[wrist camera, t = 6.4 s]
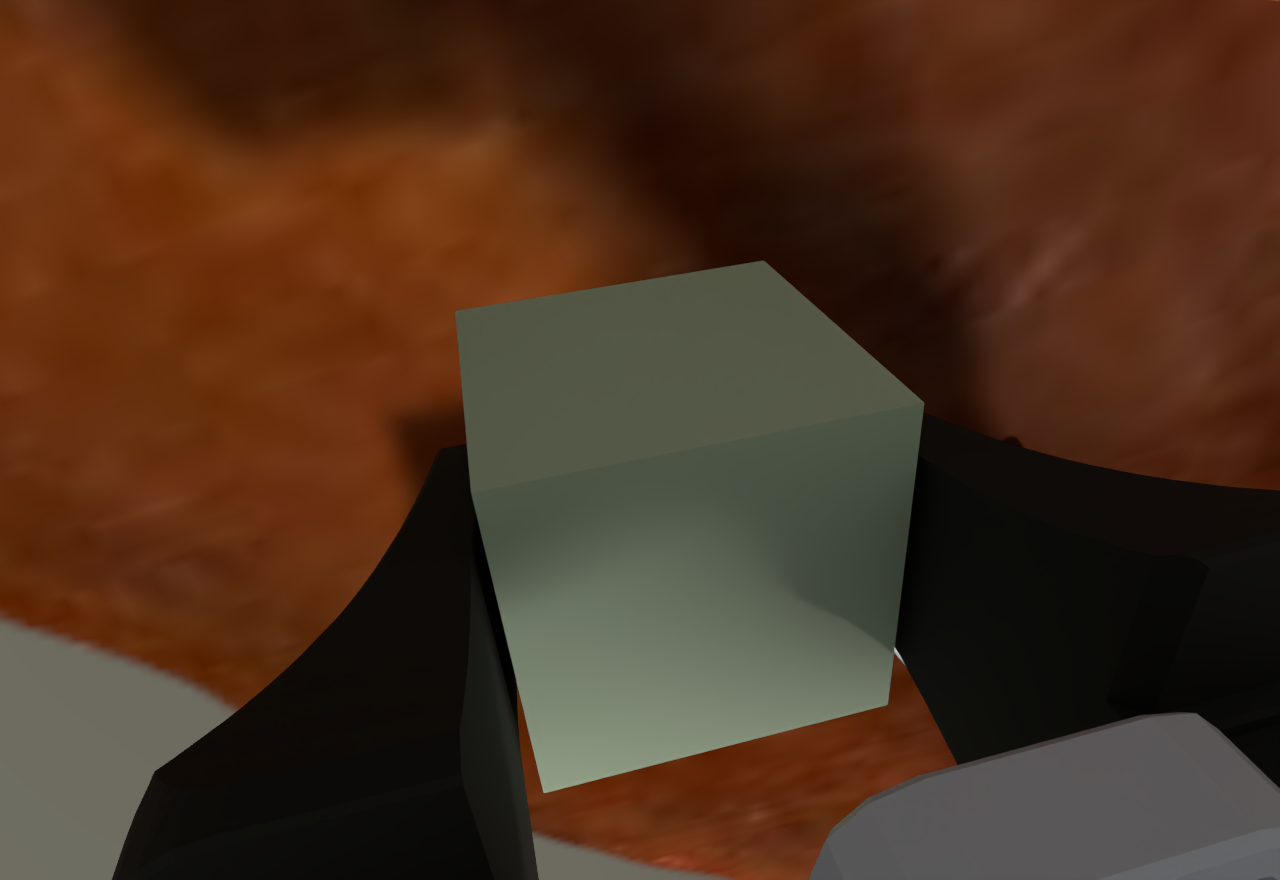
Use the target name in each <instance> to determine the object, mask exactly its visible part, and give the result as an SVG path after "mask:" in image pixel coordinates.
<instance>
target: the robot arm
mask: <svg viewBox="0 0 1280 880" xmlns="http://www.w3.org/2000/svg"><path fill="white" fill-rule="evenodd" d="M894 653H895V654H896V655H897V657H898V658H899V659H900V660H901V661H902V662H903V663H904V665H905V666H906V667H907V669H908V671H909V673H910V675H911V676H912V678H913V680H914V682H915V684H916V686H917V687H918V689H919V691H920V693H921V695H922V697H923V698H924V700H925V702H926V704H927V706H928V708H929V710H930V712H931V714H932V716H933V718H934V719H935V721H936V723H937V725H938V727H939V729H940V731H941V733H942V735H943V737H944V739H945V741H946V743H947V745H948V747H949V749H950V751H951V753H952V755H953V757H954V759H955V761H956V763H957V766H953V767H949V768H946V769H942V770H938V771H935V772H931V773H927V774H924V775H920V776H917V777H914V778H912V779H910V780H908V781H905V782H903V783H901V784H899V785H896V786H894V787H892V788H889V789H887V790H885V791H883V792H880V793H878V794H876V795H874V796H871V797H869V798H867V799H866V800H865V801H864V802H863V803H861V804H860V805H859V806H858V807H857V808H856V809H855V810H853V811H852V812H851V813H850V814H849V815H848V816H846V817H845V818H844V819H843V820H842V821H841V822H839V823H838V824H837V825H836V826H835V827H834V828H833V829H831V830H830V832H829V834H828V837H827V839H826V841H825V843H824V846H823V848H822V850H821V852H820V854H819V857H818V859H817V861H816V863H815V866H814V868H813V870H812V873H811V875H810V880H1280V491H1279V490H1264V489H1250V488H1236V487H1226V486H1218V485H1210V484H1202V483H1194V482H1186V481H1178V480H1170V479H1164V478H1158V477H1151V476H1145V475H1139V474H1133V473H1128V472H1123V471H1118V470H1113V469H1108V468H1103V467H1098V466H1093V465H1088V464H1084V463H1079V462H1075V461H1071V460H1066V459H1062V458H1059V457H1055V456H1051V455H1048V454H1044V453H1040V452H1037V451H1033V450H1029V449H1026V448H1022V447H1019V446H1015V445H1012V444H1009V443H1006V442H1003V441H999V440H996V439H994V438H991V437H988V436H985V435H982V434H979V433H977V432H974V431H971V430H968V429H965V428H962V427H960V426H957V425H954V424H952V423H949V422H947V421H944V420H941V419H939V418H936V417H934V416H931V415H929V414H926V413H924V412H923V418H922V426H921V434H920V443H919V451H918V459H917V467H916V475H915V484H914V492H913V500H912V508H911V517H910V525H909V533H908V541H907V549H906V558H905V566H904V574H903V582H902V591H901V599H900V607H899V615H898V624H897V632H896V640H895V648H894ZM112 880H539V879H538V872H537V865H536V858H535V851H534V844H533V837H532V830H531V823H530V816H529V809H528V802H527V795H526V788H525V781H524V773H523V766H522V759H521V752H520V742H519V729H518V711H517V683H516V676H515V672H514V668H513V664H512V660H511V656H510V652H509V648H508V643H507V639H506V635H505V631H504V627H503V623H502V619H501V614H500V610H499V606H498V602H497V598H496V594H495V590H494V586H493V581H492V577H491V573H490V569H489V565H488V561H487V557H486V552H485V548H484V544H483V540H482V536H481V532H480V528H479V524H478V519H477V515H476V511H475V507H474V503H473V499H472V495H471V487H470V475H469V464H468V452H467V444H464V445H459V446H453V447H448V448H443V449H441V450H440V451H439V453H438V454H437V455H436V457H435V459H434V462H433V465H432V467H431V469H430V472H429V474H428V476H427V479H426V481H425V483H424V485H423V487H422V489H421V491H420V493H419V495H418V497H417V499H416V501H415V503H414V505H413V507H412V509H411V511H410V512H409V514H408V516H407V518H406V520H405V522H404V523H403V525H402V527H401V529H400V531H399V532H398V534H397V536H396V537H395V539H394V540H393V542H392V543H391V545H390V547H389V548H388V550H387V551H386V553H385V554H384V556H383V558H382V559H381V561H380V562H379V564H378V565H377V567H376V568H375V570H374V571H373V573H372V574H371V575H370V577H369V578H368V580H367V581H366V582H365V584H364V585H363V586H362V588H361V589H360V590H359V592H358V593H357V594H356V596H355V597H354V598H353V599H352V601H351V602H350V603H349V604H348V605H347V607H346V608H345V609H344V610H343V612H342V613H341V614H340V615H339V616H338V617H337V619H336V620H335V621H334V622H333V623H332V624H331V625H330V626H329V627H328V628H327V629H326V630H325V631H324V632H323V633H322V634H321V635H320V636H319V637H318V638H317V639H316V640H315V641H314V642H313V643H312V644H311V645H310V646H309V647H308V649H307V650H306V651H305V652H304V653H303V654H302V655H301V656H300V657H299V658H298V659H297V660H296V661H295V662H294V663H292V664H291V665H290V666H289V667H288V668H287V669H286V670H285V671H284V672H283V673H281V674H280V675H279V676H278V677H277V678H276V679H275V680H274V681H273V682H271V683H270V684H269V685H268V686H267V687H266V688H264V689H263V690H262V691H261V692H260V693H259V694H257V695H256V696H255V697H254V698H253V699H251V700H250V701H249V702H248V703H247V704H245V705H244V706H243V707H242V708H241V709H239V710H238V711H237V712H236V713H234V714H233V715H232V716H230V717H229V718H228V719H227V720H225V721H224V722H223V723H221V724H220V725H219V726H217V727H216V728H214V729H213V730H212V731H210V732H209V733H208V734H206V735H205V736H204V737H202V738H201V739H200V740H198V741H197V742H195V743H194V744H193V745H191V746H190V747H189V748H187V749H186V750H184V751H183V752H182V753H181V754H179V755H178V756H176V757H175V758H174V759H172V760H171V761H169V762H168V763H166V764H165V765H164V766H162V767H160V768H159V769H158V770H156V771H155V772H154V774H153V776H152V779H151V781H150V784H149V786H148V788H147V790H146V792H145V794H144V797H143V799H142V801H141V803H140V805H139V807H138V809H137V811H136V814H135V816H134V819H133V821H132V824H131V826H130V829H129V832H128V835H127V837H126V840H125V842H124V845H123V849H122V851H121V854H120V857H119V860H118V863H117V866H116V870H115V872H114V875H113V878H112Z"/></svg>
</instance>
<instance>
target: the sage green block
mask: <svg viewBox="0 0 1280 880" xmlns="http://www.w3.org/2000/svg"><path fill="white" fill-rule="evenodd" d="M455 313H456V324H457V336H458V347H459V359H460V371H461V382H462V394H463V406H464V417H465V429H466V440H467V452H468V464H469V475H470V487H471V495H472V499H473V503H474V507H475V511H476V515H477V519H478V524H479V528H480V532H481V536H482V540H483V544H484V548H485V552H486V557H487V561H488V565H489V569H490V573H491V577H492V581H493V586H494V590H495V594H496V598H497V602H498V606H499V610H500V614H501V619H502V623H503V627H504V631H505V635H506V639H507V643H508V648H509V652H510V656H511V660H512V664H513V668H514V672H515V676H516V681H517V685H518V689H519V693H520V697H521V701H522V705H523V709H524V714H525V718H526V722H527V726H528V730H529V734H530V738H531V743H532V747H533V751H534V755H535V759H536V763H537V767H538V771H539V776H540V780H541V784H542V788H543V792H544V793H547V792H551V791H555V790H558V789H562V788H566V787H570V786H574V785H578V784H582V783H586V782H589V781H593V780H597V779H601V778H605V777H609V776H613V775H617V774H621V773H624V772H628V771H632V770H636V769H640V768H644V767H648V766H652V765H656V764H659V763H663V762H667V761H671V760H675V759H679V758H683V757H687V756H691V755H694V754H698V753H702V752H706V751H710V750H714V749H718V748H722V747H725V746H729V745H733V744H737V743H741V742H745V741H749V740H753V739H757V738H760V737H764V736H768V735H772V734H776V733H780V732H784V731H788V730H792V729H795V728H799V727H803V726H807V725H811V724H815V723H819V722H823V721H826V720H830V719H834V718H838V717H842V716H846V715H850V714H854V713H858V712H861V711H865V710H869V709H873V708H877V707H881V706H885V705H888V698H889V689H890V681H891V673H892V665H893V656H894V648H895V640H896V632H897V624H898V615H899V607H900V599H901V591H902V582H903V574H904V566H905V558H906V549H907V541H908V533H909V525H910V517H911V508H912V500H913V492H914V484H915V475H916V467H917V459H918V451H919V443H920V434H921V426H922V418H923V410H924V402H923V401H922V400H921V399H920V398H919V397H917V396H916V395H915V394H914V393H913V392H912V391H911V390H910V389H908V388H907V387H906V386H905V385H904V384H903V383H902V382H901V381H899V380H898V379H897V378H896V377H895V376H894V375H893V374H891V373H890V372H889V371H888V370H887V369H886V368H885V367H884V366H882V365H881V364H880V363H879V362H878V361H877V360H876V359H875V358H873V357H872V356H871V355H870V354H869V353H868V352H867V351H866V350H864V349H863V348H862V347H861V346H860V345H859V344H858V343H856V342H855V341H854V340H853V339H852V338H851V337H850V336H849V335H847V334H846V333H845V332H844V331H843V330H842V329H841V328H840V327H838V326H837V325H836V324H835V323H834V322H833V321H832V320H831V319H829V318H828V317H827V316H826V315H825V314H824V313H823V312H821V311H820V310H819V309H818V308H817V307H816V306H815V305H814V304H812V303H811V302H810V301H809V300H808V299H807V298H806V297H805V296H803V295H802V294H801V293H800V292H799V291H798V290H797V289H795V288H794V287H793V286H792V285H791V284H790V283H789V282H788V281H786V280H785V279H784V278H783V277H782V276H781V275H780V274H779V273H777V272H776V271H775V270H774V269H773V268H772V267H771V266H770V265H768V264H767V263H766V262H765V261H758V262H752V263H746V264H740V265H733V266H727V267H721V268H715V269H709V270H703V271H697V272H691V273H685V274H679V275H672V276H666V277H660V278H654V279H648V280H642V281H636V282H630V283H624V284H618V285H612V286H605V287H599V288H593V289H587V290H581V291H575V292H569V293H563V294H557V295H551V296H545V297H538V298H532V299H526V300H520V301H514V302H508V303H502V304H496V305H490V306H484V307H478V308H471V309H465V310H459V311H455Z"/></svg>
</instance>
